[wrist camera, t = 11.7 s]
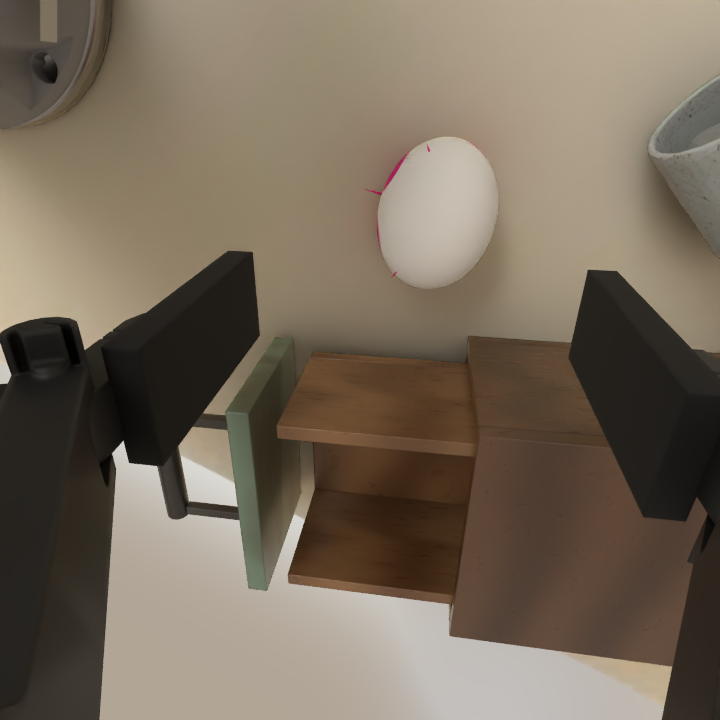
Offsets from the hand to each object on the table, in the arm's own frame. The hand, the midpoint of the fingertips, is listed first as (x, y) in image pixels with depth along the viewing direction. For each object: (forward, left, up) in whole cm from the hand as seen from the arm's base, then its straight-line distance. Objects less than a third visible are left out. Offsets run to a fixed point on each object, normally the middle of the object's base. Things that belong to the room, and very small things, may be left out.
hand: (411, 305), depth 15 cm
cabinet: (+12, -15, -16) cm, 25 cm away
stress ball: (0, 0, -16) cm, 16 cm away
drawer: (-4, -15, -15) cm, 21 cm away
